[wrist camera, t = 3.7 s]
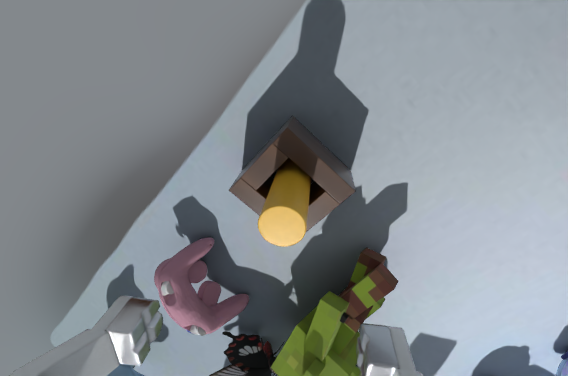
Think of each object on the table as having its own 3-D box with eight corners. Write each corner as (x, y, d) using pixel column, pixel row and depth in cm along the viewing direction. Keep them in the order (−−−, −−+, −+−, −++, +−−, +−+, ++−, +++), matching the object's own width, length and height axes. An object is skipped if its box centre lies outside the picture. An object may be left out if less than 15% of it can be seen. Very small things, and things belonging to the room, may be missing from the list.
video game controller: (189, 231, 32) (135, 277, 27) (214, 233, 29) (157, 285, 24) (230, 294, 35) (188, 344, 30) (255, 301, 32) (213, 358, 27)
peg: (278, 154, 25) (256, 203, 17) (312, 156, 24) (307, 207, 16) (278, 185, 26) (258, 244, 18) (310, 187, 26) (305, 249, 18)
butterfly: (263, 325, 41) (214, 392, 37) (233, 297, 36) (173, 370, 32) (321, 374, 33) (267, 467, 29) (293, 347, 28) (223, 452, 24)
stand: (292, 115, 23) (287, 126, 19) (351, 171, 24) (356, 191, 21) (241, 171, 26) (228, 190, 22) (296, 218, 27) (292, 243, 24)
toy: (429, 274, 28) (354, 374, 32) (367, 233, 31) (306, 330, 35) (417, 319, 19) (317, 447, 24) (333, 255, 22) (258, 379, 27)
